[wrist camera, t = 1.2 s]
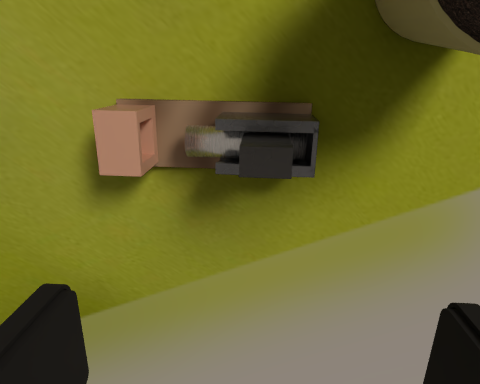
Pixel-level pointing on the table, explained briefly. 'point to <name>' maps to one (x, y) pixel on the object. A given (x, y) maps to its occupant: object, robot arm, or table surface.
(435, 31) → the potted cactus
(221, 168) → the dark grey open box
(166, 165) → the base board
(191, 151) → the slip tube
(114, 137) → the socket block
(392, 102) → the table surface
